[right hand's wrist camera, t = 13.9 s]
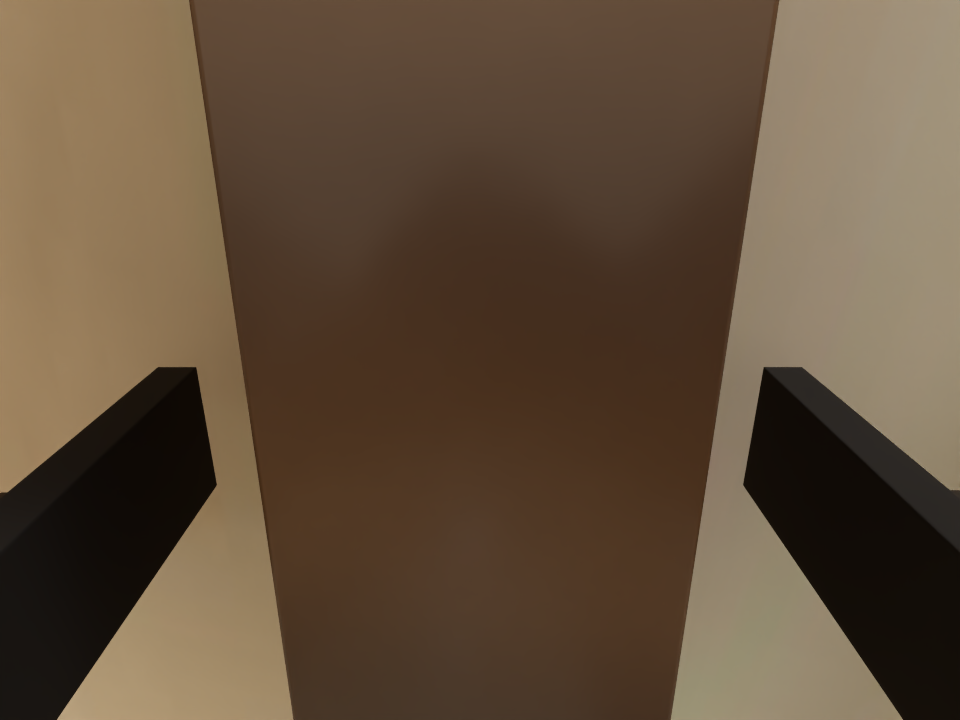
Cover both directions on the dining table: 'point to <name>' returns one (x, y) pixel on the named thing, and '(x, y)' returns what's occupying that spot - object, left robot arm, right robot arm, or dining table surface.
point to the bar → (483, 333)
